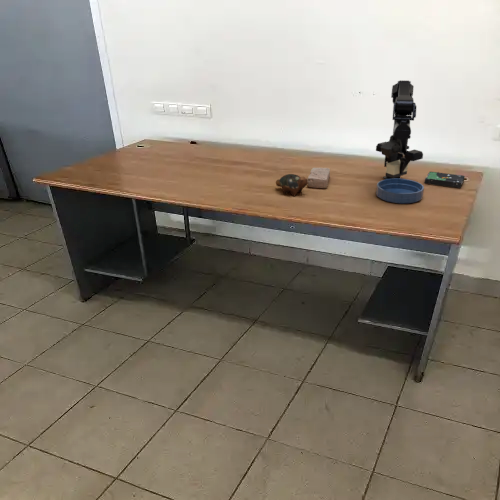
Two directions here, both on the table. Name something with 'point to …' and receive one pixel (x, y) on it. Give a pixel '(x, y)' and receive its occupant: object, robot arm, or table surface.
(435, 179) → the disk drive
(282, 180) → the decorative turtle
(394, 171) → the eraser
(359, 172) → the table surface
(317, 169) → the brick
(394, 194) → the bowl
